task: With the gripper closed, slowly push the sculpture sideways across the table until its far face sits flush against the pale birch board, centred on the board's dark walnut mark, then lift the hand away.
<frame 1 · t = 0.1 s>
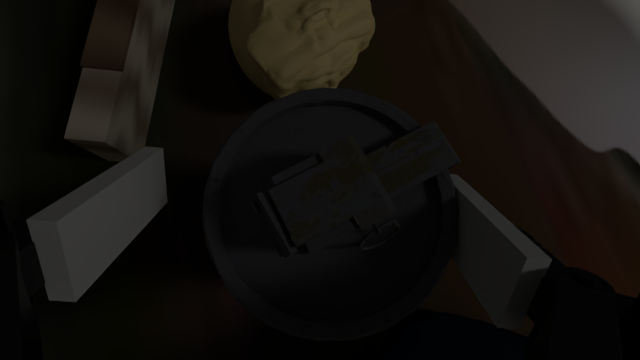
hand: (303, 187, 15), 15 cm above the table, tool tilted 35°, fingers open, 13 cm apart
board: (149, 49, 33), on the table
sculpture: (295, 67, 34), on the table
canister: (321, 231, 30), on the table
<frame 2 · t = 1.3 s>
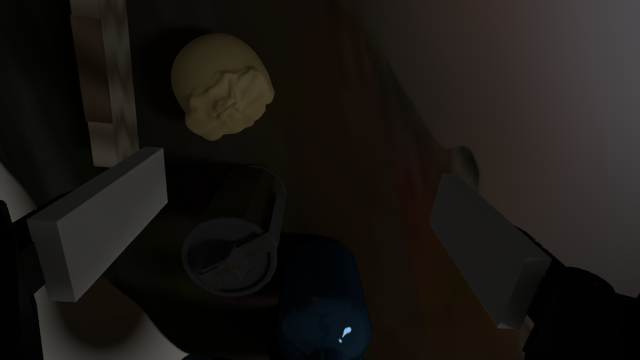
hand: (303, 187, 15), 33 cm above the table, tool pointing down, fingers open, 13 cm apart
board: (120, 70, 44), on the table
sculpture: (231, 82, 45), on the table
wine bottle: (320, 267, 57), on the table
canister: (255, 194, 52), on the table
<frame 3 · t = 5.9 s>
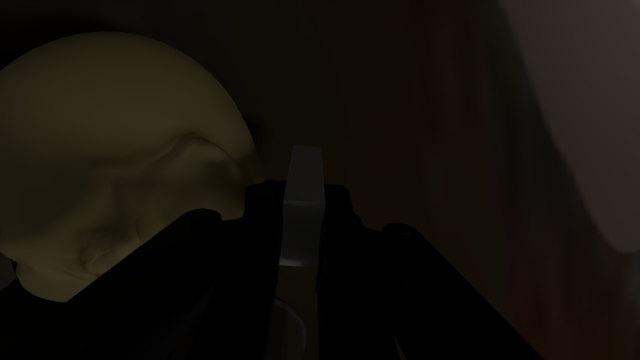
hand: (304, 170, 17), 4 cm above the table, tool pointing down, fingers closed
sculpture: (175, 137, 21), on the table, touching gripper
canister: (248, 333, 28), on the table
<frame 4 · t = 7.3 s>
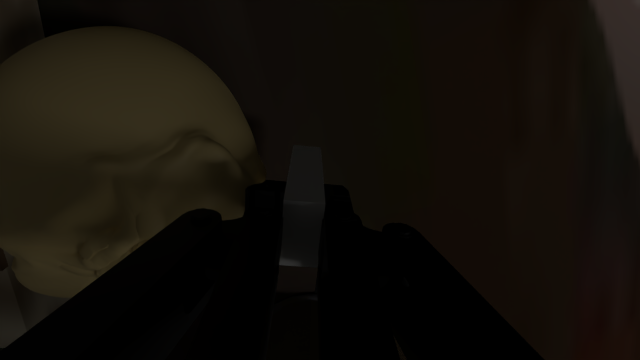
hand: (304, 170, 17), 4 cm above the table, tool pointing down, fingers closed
board: (38, 126, 20), on the table
sculpture: (175, 134, 21), on the table, touching gripper
canister: (314, 337, 28), on the table
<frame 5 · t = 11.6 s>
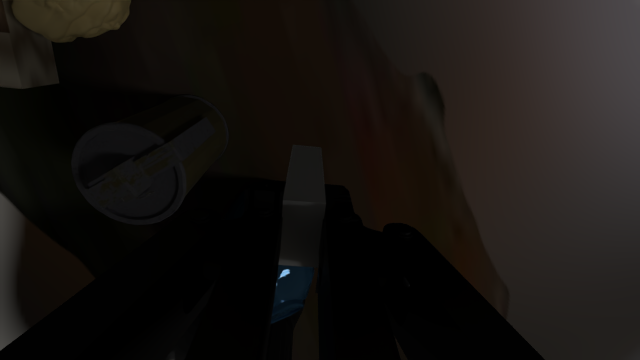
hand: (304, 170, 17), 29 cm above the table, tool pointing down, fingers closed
wine bottle: (273, 216, 52), on the table
canister: (193, 130, 46), on the table
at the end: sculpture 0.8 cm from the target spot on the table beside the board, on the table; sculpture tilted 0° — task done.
